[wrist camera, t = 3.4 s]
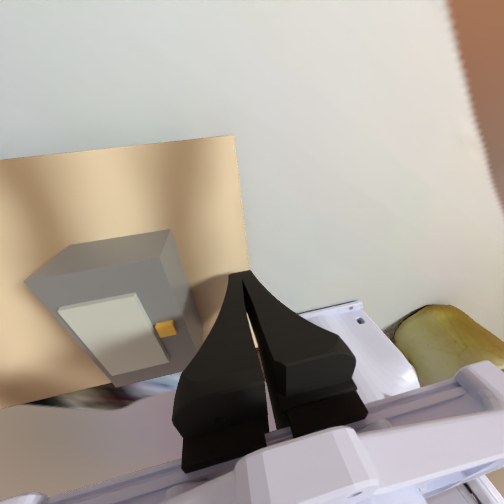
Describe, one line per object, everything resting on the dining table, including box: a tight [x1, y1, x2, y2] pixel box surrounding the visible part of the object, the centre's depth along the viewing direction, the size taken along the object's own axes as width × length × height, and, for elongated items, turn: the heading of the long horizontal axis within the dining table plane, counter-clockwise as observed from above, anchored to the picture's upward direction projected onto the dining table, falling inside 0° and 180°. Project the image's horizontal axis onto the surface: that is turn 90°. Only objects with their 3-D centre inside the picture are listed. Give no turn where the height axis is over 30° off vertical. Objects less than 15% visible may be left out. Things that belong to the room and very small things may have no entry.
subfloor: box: [0, 135, 258, 409], centre depth 13 cm, size 20×18×4 cm
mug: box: [394, 305, 504, 388], centre depth 25 cm, size 12×10×10 cm
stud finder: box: [23, 229, 203, 387], centre depth 11 cm, size 5×8×3 cm, turn 5°
